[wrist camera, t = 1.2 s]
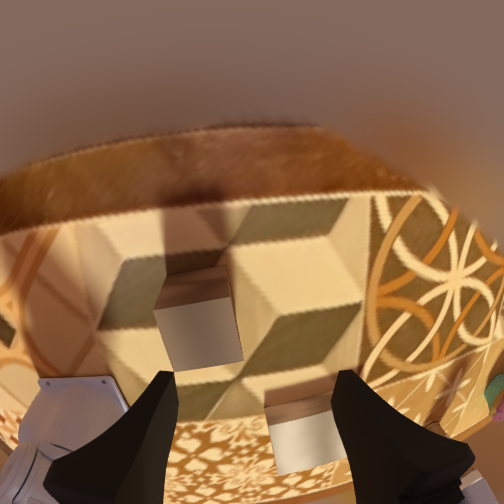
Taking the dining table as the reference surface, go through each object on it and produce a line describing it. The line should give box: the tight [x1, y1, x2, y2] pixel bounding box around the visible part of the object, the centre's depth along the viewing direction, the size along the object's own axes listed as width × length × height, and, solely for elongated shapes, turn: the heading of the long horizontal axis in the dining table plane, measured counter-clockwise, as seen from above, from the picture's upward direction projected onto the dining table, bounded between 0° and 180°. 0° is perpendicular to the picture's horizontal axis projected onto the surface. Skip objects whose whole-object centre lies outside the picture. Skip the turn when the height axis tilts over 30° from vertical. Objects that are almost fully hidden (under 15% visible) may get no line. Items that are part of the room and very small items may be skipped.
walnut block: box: [153, 265, 244, 372], centre depth 20 cm, size 4×4×6 cm
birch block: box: [264, 391, 347, 476], centre depth 27 cm, size 10×10×3 cm
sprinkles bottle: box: [425, 422, 482, 491], centre depth 27 cm, size 5×5×14 cm
